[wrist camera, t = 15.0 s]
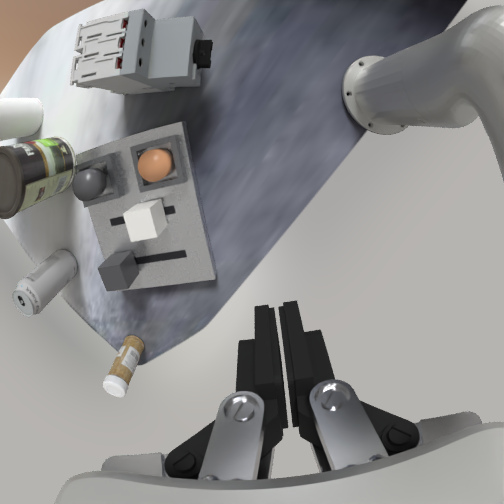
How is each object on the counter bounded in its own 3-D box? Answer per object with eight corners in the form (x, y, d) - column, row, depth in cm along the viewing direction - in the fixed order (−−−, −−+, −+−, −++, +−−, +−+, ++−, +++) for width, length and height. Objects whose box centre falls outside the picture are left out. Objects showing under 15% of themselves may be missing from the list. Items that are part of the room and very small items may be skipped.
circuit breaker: (216, 90, 35) (196, 67, 21) (124, 95, 35) (68, 85, 21) (220, 43, 32) (204, 2, 18) (128, 51, 32) (77, 25, 18)
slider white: (161, 198, 38) (149, 207, 34) (167, 224, 40) (157, 237, 35) (136, 203, 39) (122, 213, 34) (143, 229, 40) (131, 242, 36)
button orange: (171, 145, 35) (164, 146, 32) (177, 174, 37) (171, 178, 34) (143, 152, 35) (134, 154, 33) (149, 180, 37) (141, 184, 34)
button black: (103, 164, 34) (92, 167, 32) (109, 192, 36) (99, 197, 33) (80, 172, 35) (69, 175, 32) (87, 198, 36) (76, 204, 33)
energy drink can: (63, 277, 47) (21, 320, 34) (51, 250, 45) (5, 289, 31) (83, 273, 47) (41, 319, 33) (72, 244, 44) (23, 284, 31)
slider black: (131, 250, 42) (119, 264, 37) (139, 273, 43) (128, 289, 39) (111, 254, 42) (97, 268, 37) (119, 275, 44) (106, 291, 39)
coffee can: (39, 133, 36) (-17, 144, 23) (80, 140, 37) (24, 150, 24) (33, 188, 40) (-18, 211, 27) (72, 199, 41) (21, 227, 28)
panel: (185, 122, 37) (177, 121, 33) (217, 271, 46) (213, 285, 42) (83, 153, 38) (68, 156, 34) (122, 283, 48) (112, 297, 43)
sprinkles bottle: (122, 334, 52) (98, 380, 40) (141, 334, 52) (119, 383, 40) (129, 350, 54) (108, 397, 42) (147, 351, 54) (129, 399, 42)
